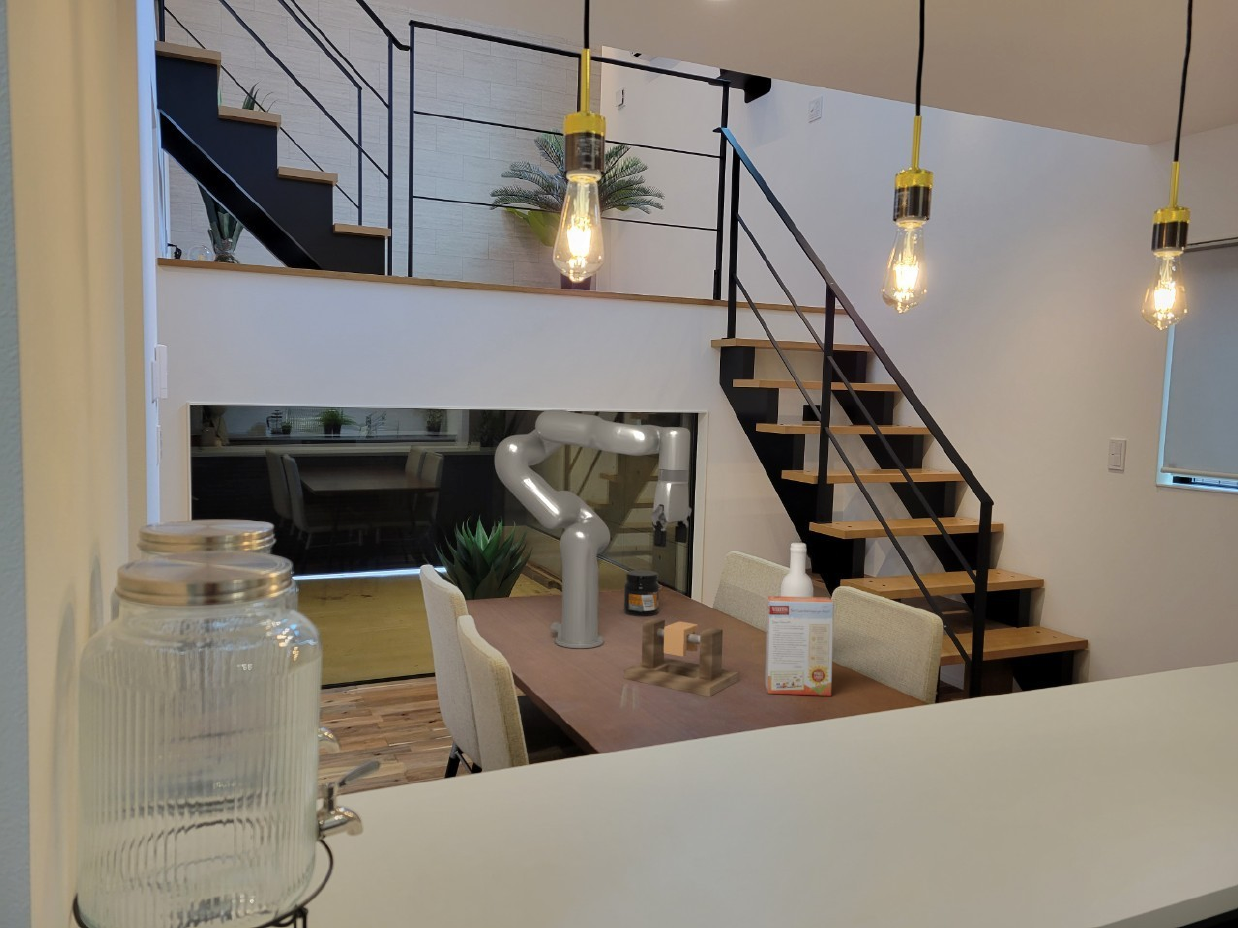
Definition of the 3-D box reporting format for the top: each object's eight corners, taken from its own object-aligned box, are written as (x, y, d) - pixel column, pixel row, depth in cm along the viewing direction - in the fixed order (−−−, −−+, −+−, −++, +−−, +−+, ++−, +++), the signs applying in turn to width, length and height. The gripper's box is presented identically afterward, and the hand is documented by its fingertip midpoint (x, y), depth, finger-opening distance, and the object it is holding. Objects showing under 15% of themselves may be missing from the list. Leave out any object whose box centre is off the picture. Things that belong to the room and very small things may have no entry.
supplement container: (652, 618, 268) (652, 577, 267) (618, 614, 271) (619, 574, 270) (663, 610, 277) (664, 571, 277) (630, 607, 281) (631, 568, 280)
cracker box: (827, 688, 205) (830, 596, 203) (831, 697, 199) (835, 602, 197) (764, 685, 206) (767, 594, 204) (766, 694, 200) (769, 600, 198)
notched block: (663, 652, 207) (664, 626, 207) (678, 646, 213) (679, 621, 212) (682, 656, 204) (683, 630, 204) (697, 650, 210) (698, 624, 210)
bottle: (771, 666, 221) (775, 543, 219) (786, 659, 227) (790, 540, 225) (802, 673, 216) (806, 547, 214) (816, 665, 222) (821, 543, 220)
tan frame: (623, 678, 209) (624, 624, 208) (655, 664, 221) (656, 613, 220) (709, 696, 197) (711, 639, 196) (737, 680, 209) (739, 627, 208)
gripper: (678, 473, 237) (675, 538, 239) (641, 477, 223) (638, 546, 224) (703, 476, 233) (700, 542, 234) (667, 479, 219) (664, 550, 220)
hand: (670, 544), depth 229 cm, fingers open, 9 cm apart
